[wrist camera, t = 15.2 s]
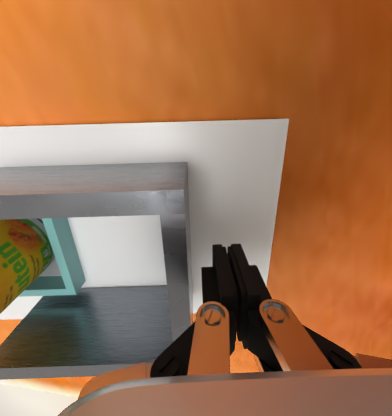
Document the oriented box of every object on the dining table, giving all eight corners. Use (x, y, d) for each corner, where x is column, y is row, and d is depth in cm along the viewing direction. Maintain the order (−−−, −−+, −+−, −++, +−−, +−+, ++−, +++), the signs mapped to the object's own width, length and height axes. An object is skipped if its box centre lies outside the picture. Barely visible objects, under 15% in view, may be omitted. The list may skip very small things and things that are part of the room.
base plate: (281, 118, 14) (301, 118, 11) (259, 300, 20) (268, 326, 17) (-84, 129, 13) (-147, 130, 11) (8, 308, 20) (-19, 335, 17)
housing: (187, 161, 13) (183, 189, 8) (192, 293, 18) (193, 372, 12) (0, 167, 13) (-138, 199, 8) (52, 298, 18) (-13, 379, 12)
